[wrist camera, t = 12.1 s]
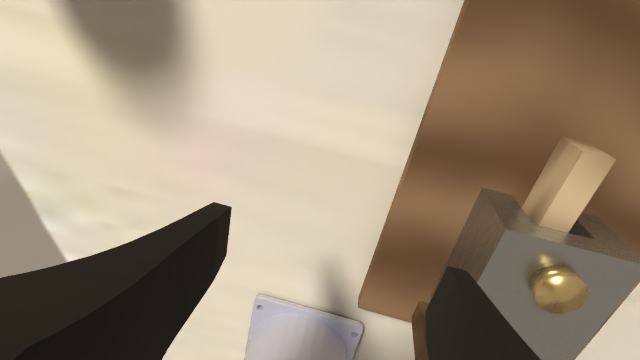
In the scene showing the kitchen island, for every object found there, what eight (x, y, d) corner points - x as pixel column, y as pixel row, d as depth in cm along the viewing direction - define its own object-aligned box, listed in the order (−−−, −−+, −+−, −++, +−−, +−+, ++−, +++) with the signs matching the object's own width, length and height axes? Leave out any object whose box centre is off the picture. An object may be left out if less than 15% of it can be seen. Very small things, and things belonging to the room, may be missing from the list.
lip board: (561, 353, 24) (598, 423, 20) (358, 296, 24) (354, 353, 20) (855, -13, 14) (1051, -23, 10) (497, -92, 14) (542, -133, 10)
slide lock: (525, 322, 22) (561, 399, 17) (430, 297, 22) (441, 366, 18) (597, 216, 18) (664, 279, 14) (482, 187, 18) (512, 240, 14)
